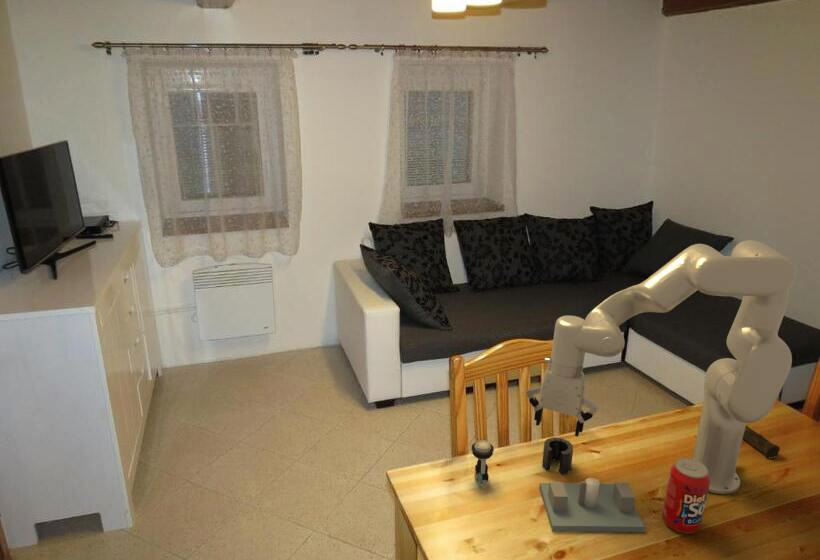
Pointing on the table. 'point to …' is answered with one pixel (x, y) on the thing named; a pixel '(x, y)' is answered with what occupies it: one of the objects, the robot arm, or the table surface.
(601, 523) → the shaft stand
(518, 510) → the table surface
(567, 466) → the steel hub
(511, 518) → the table surface
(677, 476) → the soda can
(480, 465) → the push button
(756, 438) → the dark brown bar
